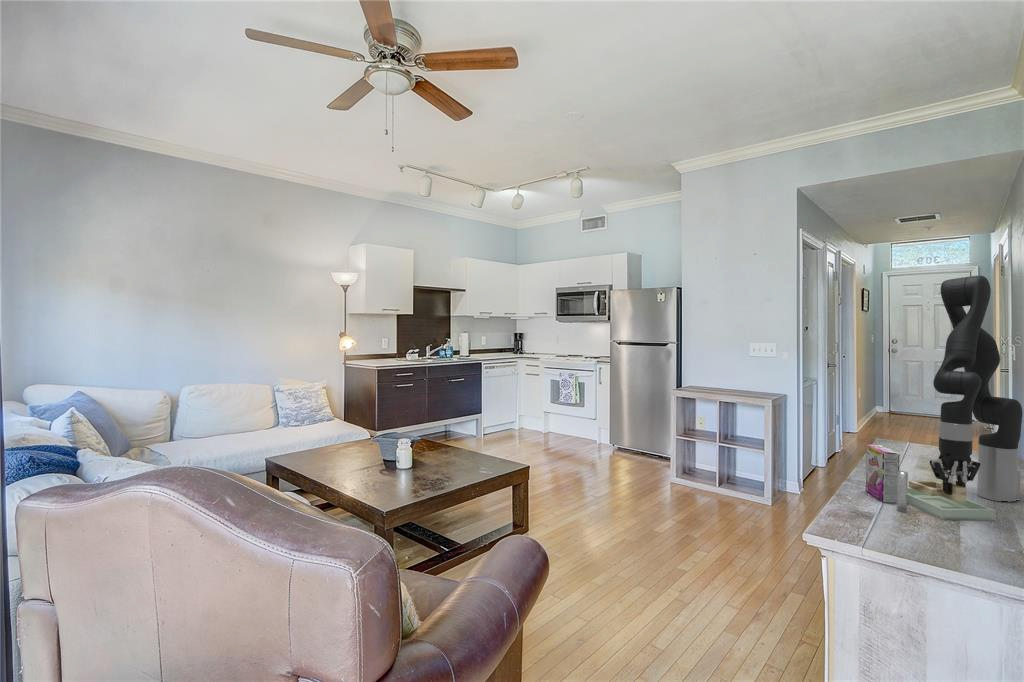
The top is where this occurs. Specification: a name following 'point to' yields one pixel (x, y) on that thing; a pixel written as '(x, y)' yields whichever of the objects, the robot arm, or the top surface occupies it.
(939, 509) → the tray
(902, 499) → the steel post
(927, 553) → the top surface
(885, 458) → the candy bar box
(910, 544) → the top surface
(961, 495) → the wooden frame with handle
